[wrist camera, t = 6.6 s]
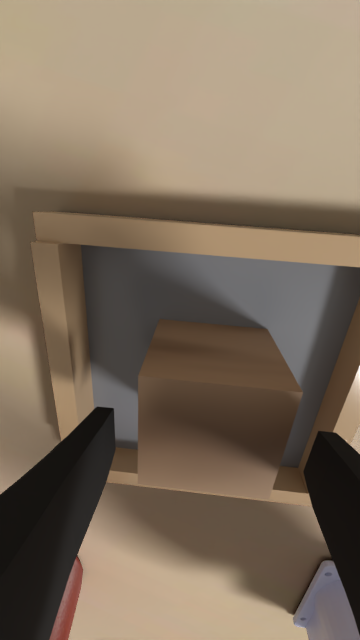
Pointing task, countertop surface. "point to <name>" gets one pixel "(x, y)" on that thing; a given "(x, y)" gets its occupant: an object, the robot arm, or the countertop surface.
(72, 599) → the flower pot
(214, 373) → the walnut block
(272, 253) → the slate tray
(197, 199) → the countertop surface
